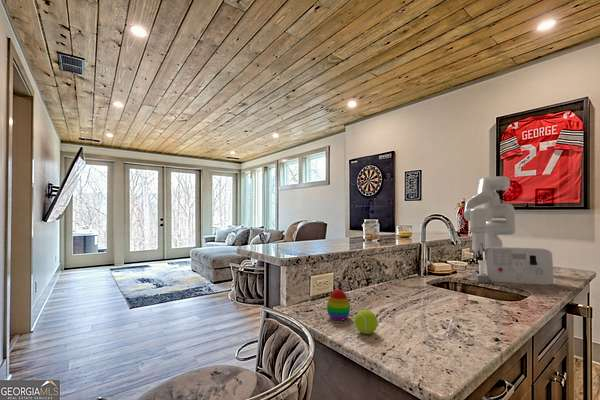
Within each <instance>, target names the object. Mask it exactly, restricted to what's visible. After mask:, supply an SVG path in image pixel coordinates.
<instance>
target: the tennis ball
mask: <svg viewBox="0 0 600 400" xmlns="http://www.w3.org/2000/svg"><path fill="white" fill-rule="evenodd" d="M354 326H355V328H356V329H357V330H358V331H359V332H360V333H362V334H365V335H370V334H373V333H374V332H375V331H376V330H377V327H378V319H377V315H375V313H374V312H373V311H371V310H368V309H362V310H359V311H358V312H357V313H356V315H355V316H354Z"/></svg>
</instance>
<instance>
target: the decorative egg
mask: <svg viewBox="0 0 600 400" xmlns="http://www.w3.org/2000/svg"><path fill="white" fill-rule="evenodd" d="M350 303H351V302H350V300H349V298H348V295H347V294H346V293H345V292H344V291H343V290H341V289H338V288H337V289H335V290H333V291H332V292H331V293H330V294H329V297H328V298H327V304H326V307H327V308H326V309H327V312H328V316H329V317H330V319H332V320H334V319H336V320H335V321H343V320H342V319H345V320H346V319H347V318H348V317H349V314H350V312H351V306H350Z"/></svg>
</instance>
